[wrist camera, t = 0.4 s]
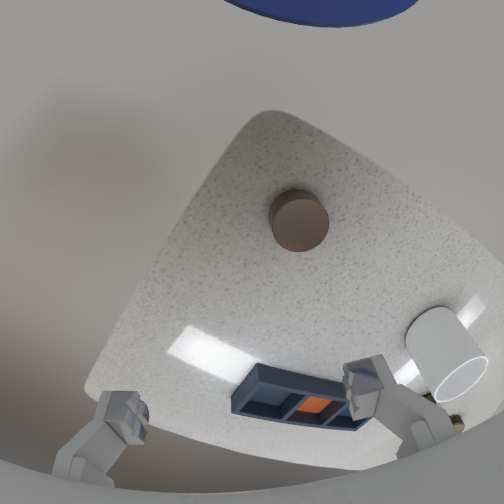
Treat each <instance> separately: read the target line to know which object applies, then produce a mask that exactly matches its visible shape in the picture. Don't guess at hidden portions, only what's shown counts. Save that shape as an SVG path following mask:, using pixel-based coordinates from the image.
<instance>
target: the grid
mask: <svg viewBox="0 0 504 504" xmlns="http://www.w3.org/2000/svg"><path fill="white" fill-rule="evenodd" d="M349 402H350V401H349V400H347V399H346V397H345V394H344V390H343V384H342V383H338V382H333V381H328V380H323V379H319V378H314V377H310V376H306V375H301V374H297V373H293V372H289V371H285V370H281V369H277V368H273V367H270V366H266V365H262V364H258V363H257V364H256V365H255V367H254V368H253V369H252V370H251V372H250V373H249V374H248V376H247V377H246V378H245V379H244V381H243V382H242V383H241V385H240V386H239V387H238V388H237V390H236V391H235V392H234V393H233V395H232V396H231V413H233V414H237V415H242V416H247V417H252V418H257V419H263V420H268V421H274V422H280V423H287V424H293V425H300V426H308V427H316V428H325V429H335V430H347V431H356V430H358V429H359V428H360V427H361V426H363V425H364V424H365V423H366V422H368V421H369V420H370V419H371V418H372V417H374V416H371V417H367V418H363V419H359V420H355V421H353V419H352V416H351V413H350V410H349Z"/></svg>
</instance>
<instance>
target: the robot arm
mask: <svg viewBox="0 0 504 504" xmlns="http://www.w3.org/2000/svg"><path fill="white" fill-rule="evenodd" d="M343 371H344V374H345V375H344V376H343V380H342V383H343V390H344V394H345V397H346V399H347V400H349V401H350V402H349V410H350V413H351V416H352V419H353V421H355V420H359V419H363V418H367V417H371V416H374V417H375V418H376V419H377V420H378V421H379V422H381V423H382V424H383V425H384V426H386V427H387V428H388V429H389V430H391V431H392V432H393V433H394V434H396V435H397V436H398V437H399V438H401V439H402V440H403V442H402V444H401V446H400V447H399V449H398V451H397V453H396V455H397V458H398V459H397V460H395V461H392V462H389V463H386V464H382V465H379V466H376V467H373V468H369V469H366V470H362V471H359V472H355V473H351V474H347V475H343V476H339V477H335V478H331V479H326V480H322V481H316V482H311V483H306V484H300V485H294V486H288V487H281V488H274V489H265V490H256V491H245V492H231V493H203V494H202V493H201V494H200V493H198V494H197V493H192V494H191V493H162V492H146V491H135V490H127V489H118V488H114V481H113V480H112V479H110V478H109V477H108V476H106V475H105V474H106V473H107V471H108V470H109V469H110V467H111V466H112V465H113V463H114V462H115V461H116V460H117V458H118V457H119V456H120V454H121V453H122V452H123V450H124V449H125V448H126V446H127V444H133V445H134V444H135V445H137V444H138V445H144V444H145V440H146V434H147V431H146V429H145V428H144V427H145V426H146V425H147V424H148V422H149V410H148V407H147V405H146V404H145V402H143V401H141V400H140V395H139V394H138V392H137V391H103V392H102V393H101V396H100V399H99V402H98V405H97V409H96V412H95V415H94V418H93V421H90V422H89V423H88V424H87V425H86V426H84V427H83V428H82V429H81V430H80V431H79V432H78V433H77V434H76V435H75V436H74V437H73V438H72V439H71V440H70V441H69V442H68V443H67V444H66V445H64V447H62V448H61V449H60V450H59V451H58V453H57V456H56V459H55V463H54V467H53V470H52V473H51V475H48V474H44V473H40V472H37V471H34V470H30V469H27V468H24V467H21V466H18V465H15V464H12V463H9V462H6V461H4V460H1V459H0V504H504V410H503V411H502V412H500V413H498V414H496V415H494V416H493V417H491V418H489V419H487V420H486V421H484V422H482V423H480V424H478V425H476V426H474V427H472V428H470V429H468V430H466V431H464V432H462V433H460V434H457V432H456V430H455V428H454V426H453V424H452V422H451V420H450V418H449V416H448V414H447V412H446V410H445V409H443V408H441V407H440V406H438V405H436V404H434V403H433V402H431V401H429V400H427V399H426V398H424V397H422V396H421V395H419V394H417V393H415V392H414V391H412V390H410V389H409V388H407V387H405V386H403V385H402V384H399V385H397V383H396V381H395V379H394V377H393V375H392V373H391V371H390V369H389V367H388V365H387V363H386V361H385V359H384V357H383V355H381V354H380V355H376V356H373V357H369V358H364V359H360V360H356V361H352V362H349V363H345V364H344V366H343Z"/></svg>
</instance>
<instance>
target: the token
mask: <svg viewBox="0 0 504 504" xmlns="http://www.w3.org/2000/svg"><path fill="white" fill-rule="evenodd" d="M269 221H270V225H271V228H272V232H273V235H274V237H275V239H276V241H277V242H278V244H280V245H281V246H282V247H283V248H285V249H287V250H290V251H293V252H304V251H308V250H310V249H313V248H315V247H316V246H317V245H319V244H320V243H321V242H322V241H323V239H324V238H325V236H326V234H327V232H328V228H329V218H328V214H327V212H326V210H325V209H324V207H323V206H322V205H321V204H320V202H319V201H318V200H317V199H316V197H315V196H313V195H312V194H310V193H309V192H306V191H302V190H292V191H288V192H286V193H284V194H282V195H281V196H279V197H278V198H277V199H276V200H275V201H274V203H273V204H272V206H271V209H270V213H269Z"/></svg>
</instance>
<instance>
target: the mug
mask: <svg viewBox="0 0 504 504" xmlns="http://www.w3.org/2000/svg"><path fill="white" fill-rule="evenodd" d="M405 342H406V347H407V349H408V351H409V353H410V355H411V357H412V358H413V360H414V362H415V364H416V366H417V367H418V369H419V371H420V373H421V375H422V377H423V378H424V380H425V382H426V384H427V386H428V388H429V390H430V392H431V394H432V396H433V397H434V399H435V400H436V401H437V402H446V401H450V400H452V399H454V398H456V397H458V396H460V395H462V394H463V393H465V392H466V391H467V390H469V389H470V388H471V387H472V386H473V385H474V384H475V383H476V382H477V381H478V380H479V379H480V378H481V377H482V375H483V374H484V372H485V370H486V368H487V366H488V358H487V357H486V355H485V354H484V353H483V351H482V350H481V348H480V347H479V346H478V344H477V343H476V342H475V340H474V339H473V338H472V336H471V335H470V334H469V332H468V331H467V330H466V328H465V327H464V326H463V324H462V323H461V322H460V321H459V319H458V318H457V317H456V315H455V314H454V313H453V312H452V311H451V310H450V309H448V308H445V307H436V308H432V309H430V310H428V311H426V312H424V313H423V314H422V315H420V316H419V317H418V318H417V319H416V320H415V321H414V322H413V323H412V325H411V326H410V328H409V330H408V332H407V334H406V339H405Z"/></svg>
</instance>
